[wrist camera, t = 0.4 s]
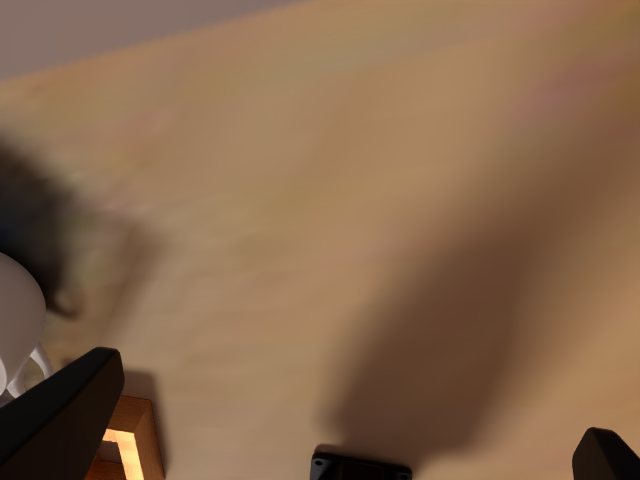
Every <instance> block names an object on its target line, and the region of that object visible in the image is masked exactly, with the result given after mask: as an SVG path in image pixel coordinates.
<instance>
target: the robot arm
mask: <svg viewBox="0 0 640 480" xmlns="http://www.w3.org/2000/svg"><path fill="white" fill-rule="evenodd" d="M124 383H125V376H124V371H123V365H122V360H121V355H120V352H119V351H118V350H117V349H113V348H107V347H96V348H94V349H92V350H91V351H89V352H88V353H86V354H84V355H83V356H81V357H80V358H78V359H77V360H75V361H73V362H72V363H70V364H69V365H67V366H66V367H64V368H62V369H61V370H59V371H58V372H56V373H55V374H53V375H51V376H50V377H48V378H47V379H45V380H44V381H42V382H40V383H39V384H37V385H36V386H34V387H33V388H31V389H29V390H28V391H26V392H25V393H23V394H22V395H20V396H18V397H17V398H15V399H14V400H12V401H11V402H9V403H7V404H6V405H4V406H3V407H1V408H0V480H84V478H85V477H86V475H87V473H88V471H89V469H90V467H91V465H92V463H93V461H94V459H95V456H96V454H97V452H98V449H99V447H100V445H101V442H102V440H103V437H104V435H105V432H106V430H107V427H108V425H109V422H110V420H111V418H112V415H113V413H114V410H115V408H116V405H117V403H118V400H119V398H120V396H121V393H122V391H123V388H124ZM572 468H573V476H574V480H640V458H639V457H638V456H637V455H636V454H635V453H634V451H633V450H632V449H631V448H630V447H629V446H628V445H627V444H626V443H625V442H624V441H623V440H622V439H621V437H620V436H619V435H618V434H617V433H615V432H614V431H612V430H608V429H602V428H596V427H590V428H589V429H587V431H586V432H585V434H584V436H583V437H582V439H581V441H580V443H579V445H578V446H577V448H576V450H575V452H574V454H573V459H572ZM310 480H412V471H411V470H410V469H409V468H406V467H401V466H395V465H389V464H383V463H377V462H371V461H365V460H359V459H353V458H347V457H341V456H335V455H329V454H323V453H315V454H313V456H312V460H311V470H310Z"/></svg>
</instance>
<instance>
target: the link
mask: <svg viewBox="0 0 640 480" xmlns="http://www.w3.org/2000/svg"><path fill="white" fill-rule="evenodd" d="M103 440H106V441H112V442H118V446H119V450H120V454H121V458H122V462H123V464H120V463H114V462H108V461H103V460H100V457H99V453H98V452H97V454H96V456H95V459H94V461H93V463H92V465H91V467H90V469H89V471H88V473H87V475H86V477H85V478H84V480H165V478H164V472H163V467H162V461H161V456H160V450H159V445H158V439H157V434H156V428H155V422H154V417H153V411H152V406H151V400H145V399H139V398H132V397H126V396H120V398H119V400H118V403H117V405H116V408H115V410H114V413H113V415H112V418H111V420H110V422H109V425H108V427H107V430H106V432H105V435H104V437H103Z"/></svg>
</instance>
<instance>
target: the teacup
mask: <svg viewBox="0 0 640 480" xmlns="http://www.w3.org/2000/svg"><path fill="white" fill-rule="evenodd" d="M45 320H46V305H45V300H44V296H43V293H42V291H41V289H40V287H39V285H38V283H37V282H36V280H35V279H34V278H33V276H32V275H31V274H30V273H29V272H28V271H27V270H26V269H25V268H24V267H23V266H22V265H21V264H19V263H18V262H17V261H15V260H14V259H12V258H10V257H9V256H7V255H5V254H3V253H1V252H0V395H1V394H2V393H3V391H4V390H5V389H6V388H7V389H8V391H9V392H10V394H11V395H12V396H13V397H15V398H17V397H18V396H20V395H22V394H23V393H25V392H26V390H25V388H24V383H23V376H24V369H25V366H26V362H27V360H28V359H29V357H32V358H33V359H34V360H35V361H36V362H37V363H38V364H39V365H40V367H41V368H42V370H43V372H44V375H45V379H47V378H48V377H50V376H51V375H53V374H54V371H53V367H52V365H51V362H50V360H49V358H48V356H47V354H46V352H45V351H44V349H43V347H42V345H41V343H40V338H41V336H42V333H43V330H44V326H45Z"/></svg>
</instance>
